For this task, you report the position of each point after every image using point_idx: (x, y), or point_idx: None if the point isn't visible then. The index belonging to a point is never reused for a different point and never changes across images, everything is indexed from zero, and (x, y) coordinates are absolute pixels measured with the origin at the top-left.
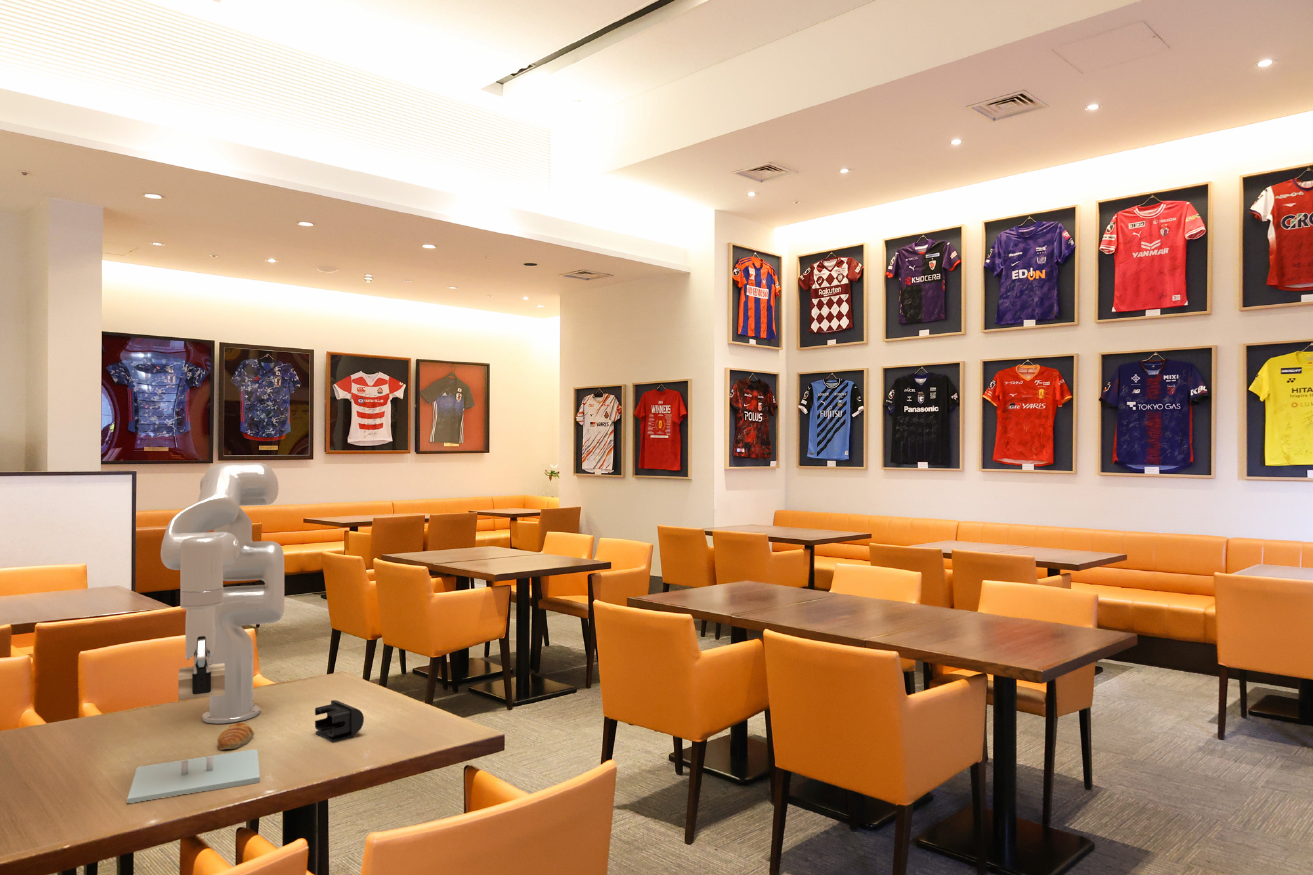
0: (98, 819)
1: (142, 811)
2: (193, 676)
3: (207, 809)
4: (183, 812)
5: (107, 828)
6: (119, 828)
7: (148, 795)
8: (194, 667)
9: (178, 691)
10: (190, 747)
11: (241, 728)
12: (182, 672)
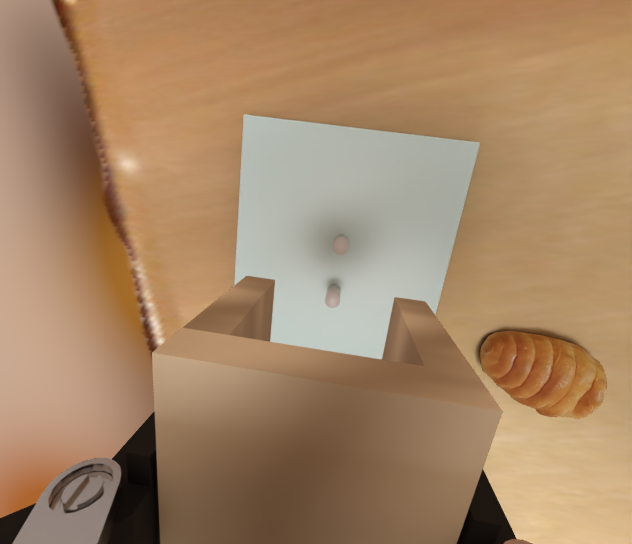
0: (188, 57)
1: (190, 147)
2: (145, 439)
3: (142, 257)
4: (147, 218)
5: (128, 77)
6: (118, 101)
7: (241, 159)
8: (19, 536)
9: (225, 293)
10: (585, 277)
11: (541, 399)
12: (246, 398)
